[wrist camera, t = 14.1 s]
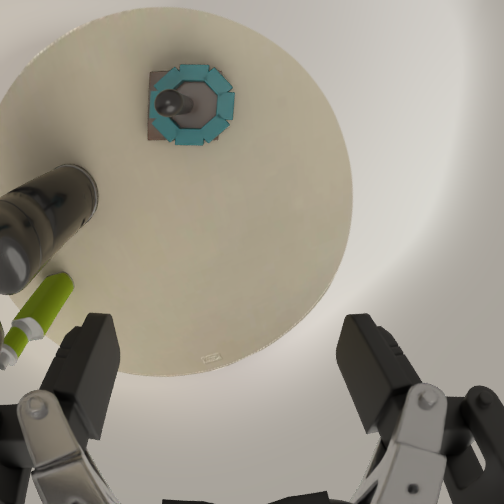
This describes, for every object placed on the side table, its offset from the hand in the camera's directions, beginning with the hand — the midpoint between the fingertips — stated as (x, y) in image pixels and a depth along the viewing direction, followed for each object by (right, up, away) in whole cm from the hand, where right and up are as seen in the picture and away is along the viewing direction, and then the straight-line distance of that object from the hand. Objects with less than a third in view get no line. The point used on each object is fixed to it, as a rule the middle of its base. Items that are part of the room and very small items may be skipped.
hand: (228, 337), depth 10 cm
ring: (-7, +21, +25) cm, 34 cm away
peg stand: (-8, +22, +27) cm, 35 cm away
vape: (-31, -2, +36) cm, 48 cm away
